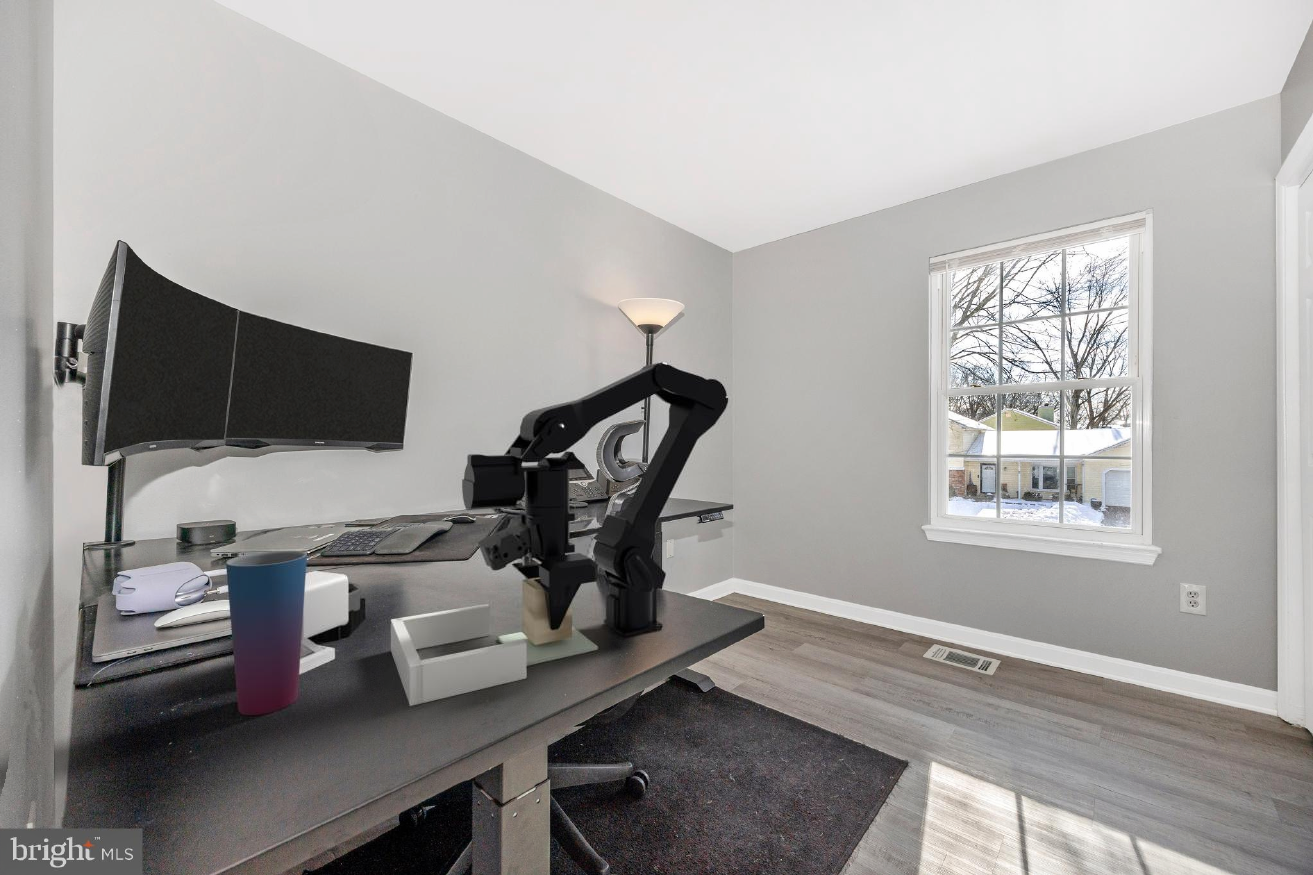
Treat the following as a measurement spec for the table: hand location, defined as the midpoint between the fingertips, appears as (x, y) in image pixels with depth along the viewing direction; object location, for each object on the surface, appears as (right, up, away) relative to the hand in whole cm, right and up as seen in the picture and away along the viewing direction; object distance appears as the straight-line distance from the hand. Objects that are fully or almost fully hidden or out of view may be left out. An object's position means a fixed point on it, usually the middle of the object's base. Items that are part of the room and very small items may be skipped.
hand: (547, 623), depth 73 cm
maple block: (0, -2, 0) cm, 2 cm away
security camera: (-28, -3, -6) cm, 29 cm away
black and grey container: (-33, -3, +5) cm, 33 cm away
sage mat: (0, -3, 0) cm, 3 cm away
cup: (-26, -3, -16) cm, 30 cm away
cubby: (-10, -3, -6) cm, 12 cm away
